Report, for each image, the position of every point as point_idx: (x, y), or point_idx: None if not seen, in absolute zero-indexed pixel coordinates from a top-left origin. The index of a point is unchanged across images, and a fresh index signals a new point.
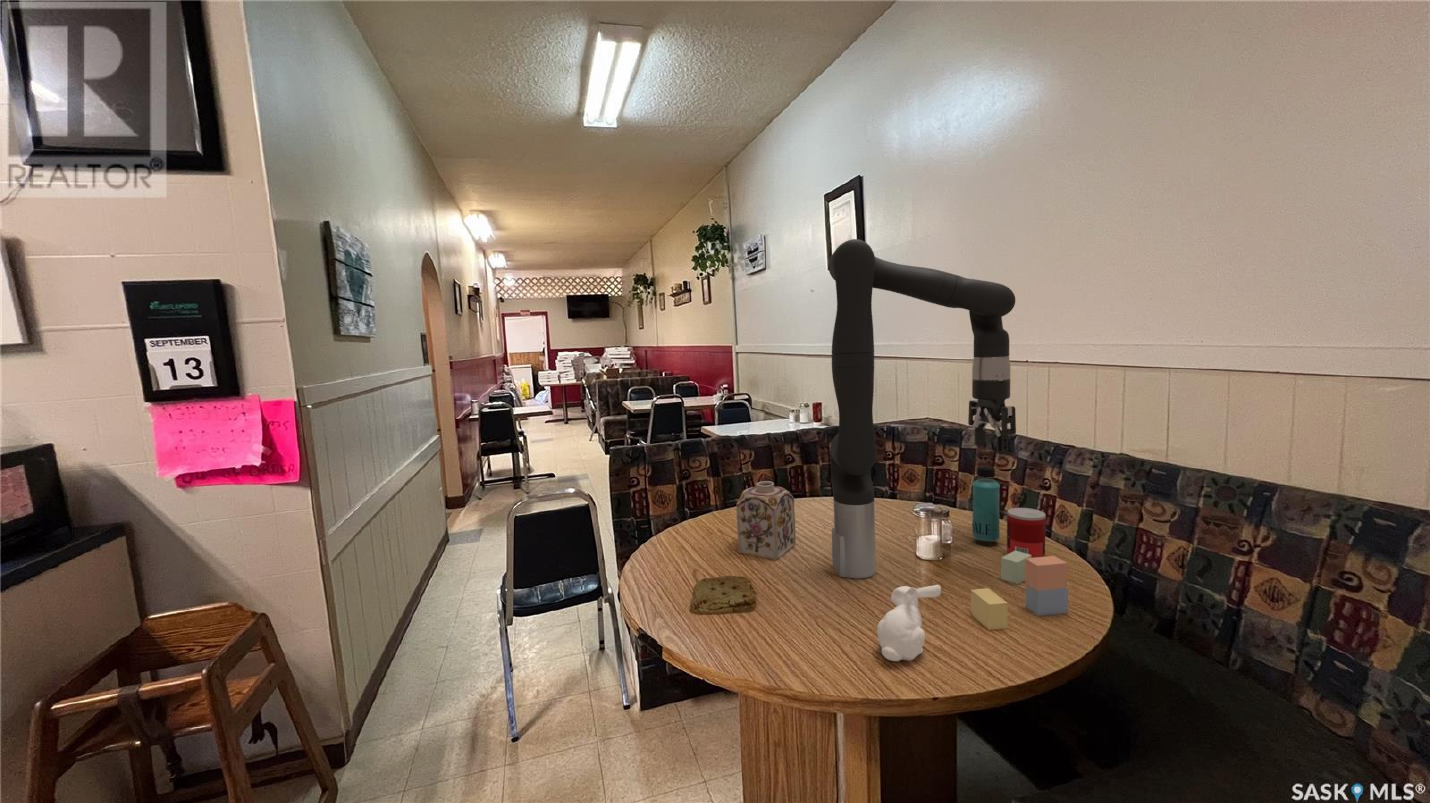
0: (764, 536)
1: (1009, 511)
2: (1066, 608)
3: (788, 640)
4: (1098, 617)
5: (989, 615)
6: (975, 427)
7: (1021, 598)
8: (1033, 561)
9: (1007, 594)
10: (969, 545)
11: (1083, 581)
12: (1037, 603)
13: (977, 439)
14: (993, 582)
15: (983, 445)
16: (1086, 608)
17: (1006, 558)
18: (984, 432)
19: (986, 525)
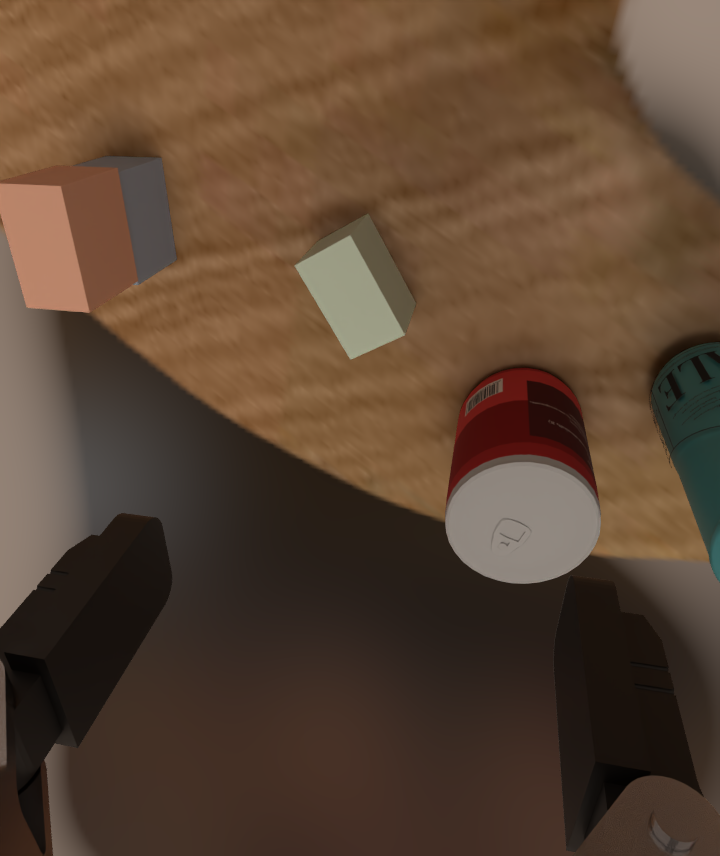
0: None
1: (566, 480)
2: None
3: None
4: (103, 316)
5: None
6: (615, 812)
7: (216, 182)
8: (31, 197)
9: (247, 153)
10: (708, 296)
11: (306, 439)
12: (87, 162)
13: (576, 645)
14: (344, 164)
15: (557, 635)
16: (150, 324)
17: (336, 248)
18: (563, 799)
19: (678, 394)
